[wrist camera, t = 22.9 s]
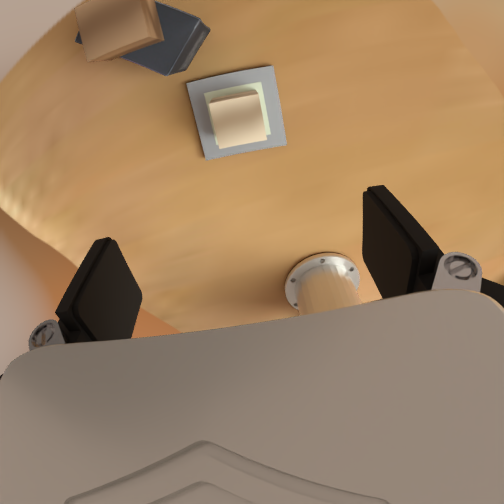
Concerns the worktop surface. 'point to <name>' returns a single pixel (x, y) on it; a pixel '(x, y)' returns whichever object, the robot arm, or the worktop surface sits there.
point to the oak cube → (238, 119)
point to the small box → (170, 42)
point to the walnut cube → (117, 27)
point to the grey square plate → (232, 84)
